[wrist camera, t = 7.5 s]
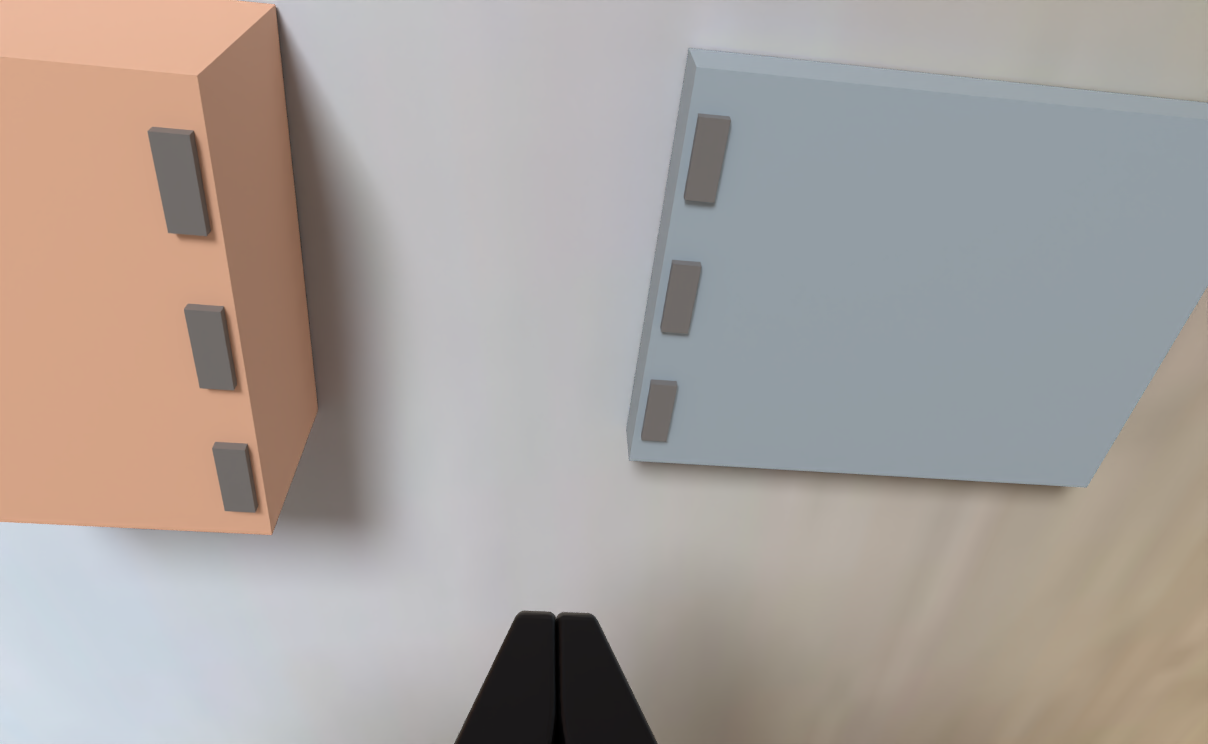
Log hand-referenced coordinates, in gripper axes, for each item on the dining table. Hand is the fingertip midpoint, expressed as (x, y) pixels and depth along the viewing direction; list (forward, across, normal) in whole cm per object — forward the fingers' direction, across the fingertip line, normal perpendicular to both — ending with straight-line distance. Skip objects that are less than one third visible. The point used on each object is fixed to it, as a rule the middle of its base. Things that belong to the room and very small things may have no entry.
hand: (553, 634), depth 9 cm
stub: (+8, +8, 0) cm, 11 cm away
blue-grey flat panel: (+8, -7, 0) cm, 11 cm away
